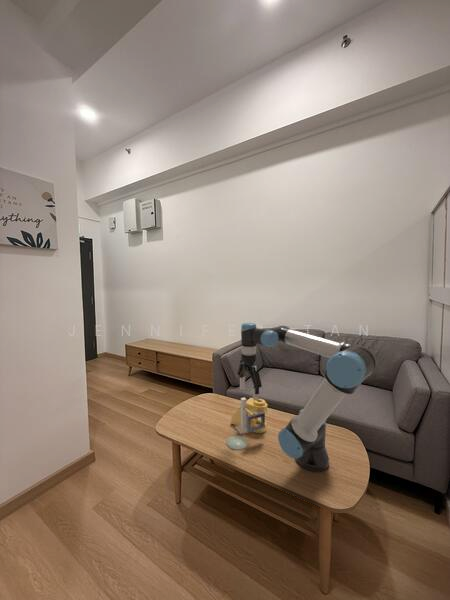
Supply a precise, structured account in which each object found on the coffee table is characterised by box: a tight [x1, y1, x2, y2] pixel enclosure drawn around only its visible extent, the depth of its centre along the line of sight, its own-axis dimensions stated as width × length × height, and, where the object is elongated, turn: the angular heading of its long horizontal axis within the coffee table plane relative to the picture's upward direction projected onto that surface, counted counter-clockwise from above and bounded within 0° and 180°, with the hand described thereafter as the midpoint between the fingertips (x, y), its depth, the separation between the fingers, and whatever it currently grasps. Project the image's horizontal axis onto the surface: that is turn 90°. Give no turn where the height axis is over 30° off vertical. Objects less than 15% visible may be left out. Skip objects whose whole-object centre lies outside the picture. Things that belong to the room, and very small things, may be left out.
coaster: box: [226, 434, 249, 451], centre depth 128 cm, size 11×11×1 cm
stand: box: [234, 397, 260, 435], centre depth 134 cm, size 20×7×18 cm, turn 25°
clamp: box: [230, 397, 268, 434], centre depth 144 cm, size 20×9×16 cm, turn 57°
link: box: [247, 412, 266, 433], centre depth 128 cm, size 2×10×8 cm, turn 115°
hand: (248, 394), depth 126 cm, fingers open, 13 cm apart
